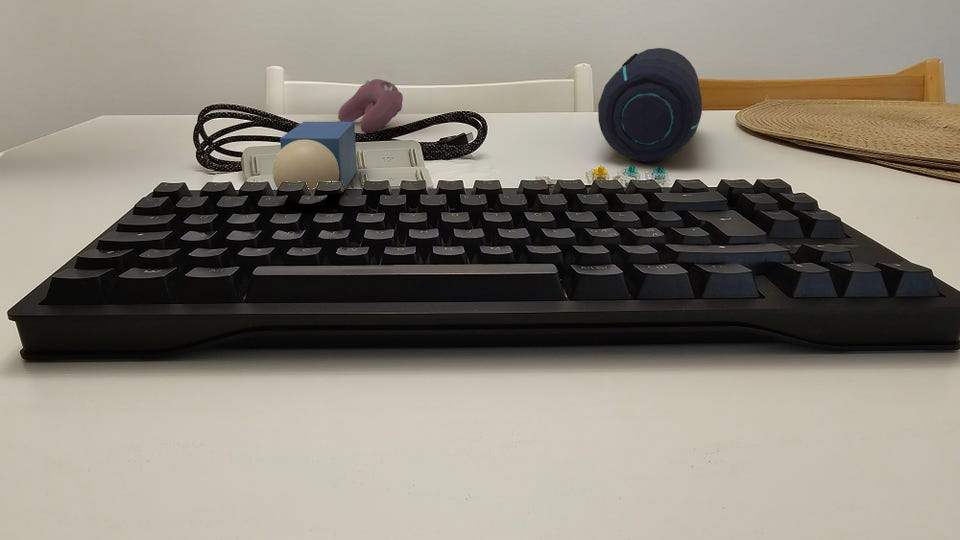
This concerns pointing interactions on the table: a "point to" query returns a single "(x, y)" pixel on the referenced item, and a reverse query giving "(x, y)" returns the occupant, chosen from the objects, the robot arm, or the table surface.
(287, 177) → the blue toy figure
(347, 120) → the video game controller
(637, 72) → the portable speaker
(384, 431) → the table surface
